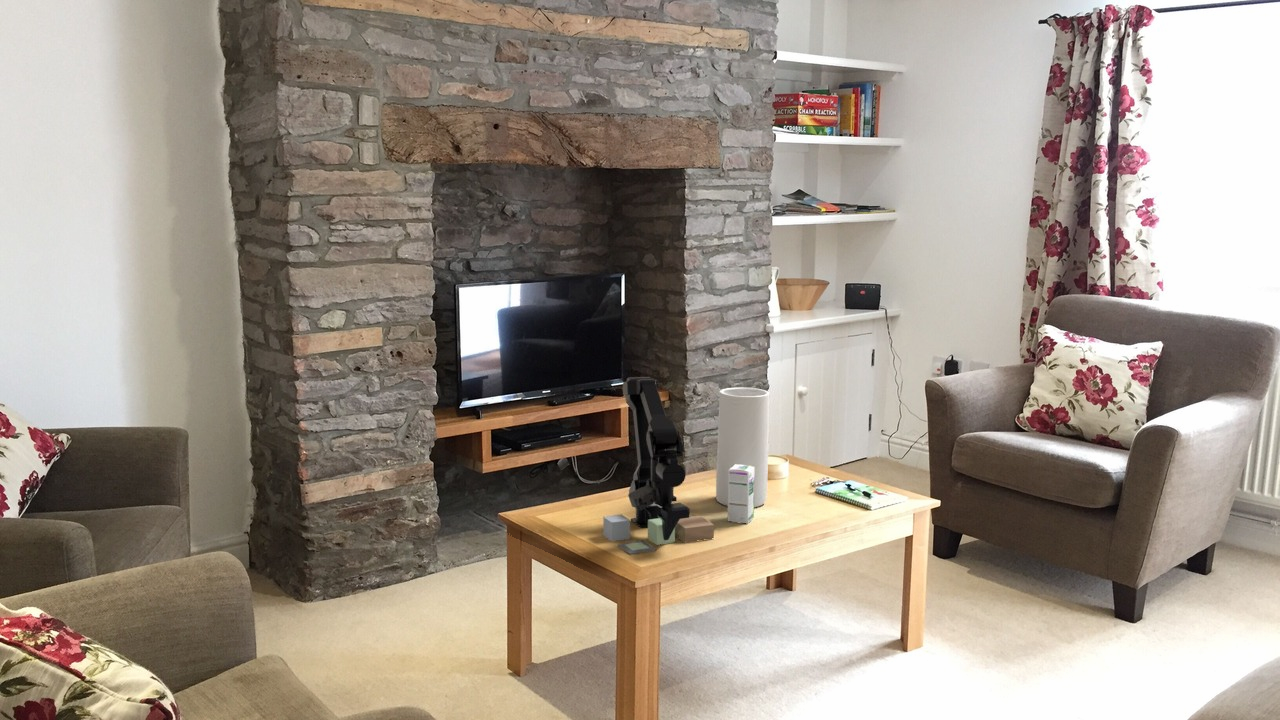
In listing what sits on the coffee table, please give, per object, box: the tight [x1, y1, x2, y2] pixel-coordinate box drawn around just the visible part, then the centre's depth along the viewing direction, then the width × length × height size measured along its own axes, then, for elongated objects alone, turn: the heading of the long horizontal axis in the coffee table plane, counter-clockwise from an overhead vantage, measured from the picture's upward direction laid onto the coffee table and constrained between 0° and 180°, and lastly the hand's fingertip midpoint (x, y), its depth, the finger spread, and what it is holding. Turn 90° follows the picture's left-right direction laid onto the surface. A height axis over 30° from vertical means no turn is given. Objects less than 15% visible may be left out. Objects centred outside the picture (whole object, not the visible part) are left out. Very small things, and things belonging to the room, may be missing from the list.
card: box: [617, 539, 657, 555], centre depth 251 cm, size 7×7×1 cm
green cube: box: [647, 518, 676, 546], centre depth 257 cm, size 5×5×5 cm
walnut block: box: [675, 515, 715, 543], centre depth 261 cm, size 8×8×4 cm
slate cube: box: [602, 513, 631, 542], centre depth 259 cm, size 5×5×5 cm
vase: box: [715, 387, 770, 508], centre depth 288 cm, size 14×14×32 cm
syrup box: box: [727, 464, 755, 525], centre depth 273 cm, size 6×6×14 cm
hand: (661, 536), depth 257 cm, fingers closed on green cube, 5 cm apart
